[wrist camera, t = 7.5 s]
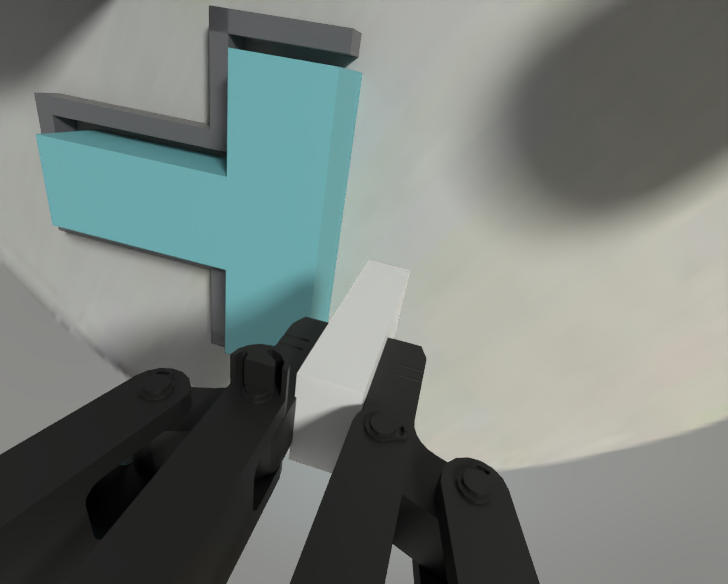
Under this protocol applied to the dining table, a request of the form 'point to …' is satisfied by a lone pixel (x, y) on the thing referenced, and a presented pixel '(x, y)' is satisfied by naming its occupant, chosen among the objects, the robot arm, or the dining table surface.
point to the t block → (229, 191)
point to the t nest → (223, 34)
